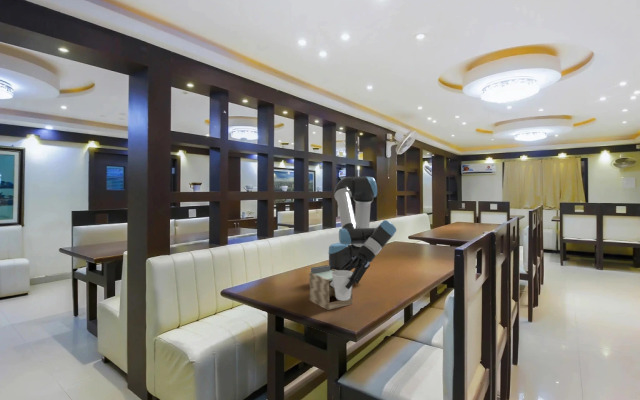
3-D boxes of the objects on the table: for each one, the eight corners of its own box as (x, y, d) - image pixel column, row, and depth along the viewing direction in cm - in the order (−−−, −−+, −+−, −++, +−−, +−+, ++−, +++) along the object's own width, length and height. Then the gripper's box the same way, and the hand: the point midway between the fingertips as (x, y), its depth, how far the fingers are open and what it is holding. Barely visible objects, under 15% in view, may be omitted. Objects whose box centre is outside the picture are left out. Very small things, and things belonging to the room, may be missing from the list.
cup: (352, 294, 141) (352, 269, 141) (356, 302, 132) (356, 276, 131) (330, 294, 141) (330, 270, 141) (332, 302, 131) (332, 276, 131)
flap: (309, 274, 161) (308, 268, 161) (328, 271, 168) (328, 264, 168) (325, 281, 149) (325, 274, 149) (346, 277, 155) (346, 270, 155)
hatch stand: (309, 300, 159) (309, 273, 159) (333, 295, 167) (333, 268, 167) (328, 310, 146) (327, 280, 145) (352, 303, 154) (352, 275, 153)
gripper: (387, 261, 130) (352, 304, 126) (363, 250, 151) (332, 287, 146) (376, 249, 128) (340, 292, 124) (353, 240, 149) (322, 277, 145)
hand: (336, 289), depth 135 cm, fingers closed on cup, 9 cm apart
